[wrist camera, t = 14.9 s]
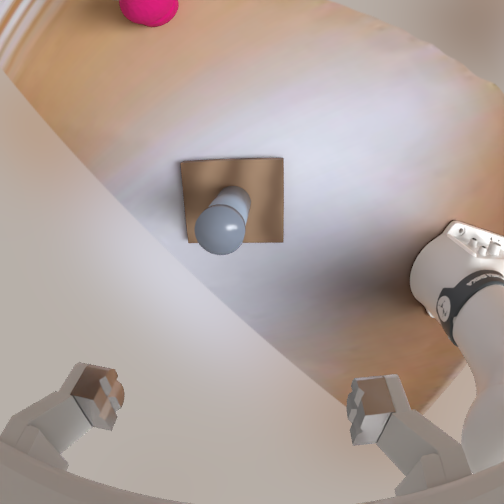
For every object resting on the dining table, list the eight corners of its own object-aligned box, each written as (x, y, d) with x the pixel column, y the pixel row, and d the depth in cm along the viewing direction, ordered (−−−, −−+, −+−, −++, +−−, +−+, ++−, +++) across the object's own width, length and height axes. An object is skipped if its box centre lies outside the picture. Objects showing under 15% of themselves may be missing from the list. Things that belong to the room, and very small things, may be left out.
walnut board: (283, 157, 42) (283, 159, 41) (282, 238, 47) (283, 242, 46) (183, 161, 43) (180, 162, 42) (190, 238, 48) (188, 242, 47)
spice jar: (251, 183, 42) (242, 206, 32) (253, 221, 45) (246, 254, 34) (212, 185, 43) (191, 208, 33) (216, 222, 45) (197, 255, 35)
